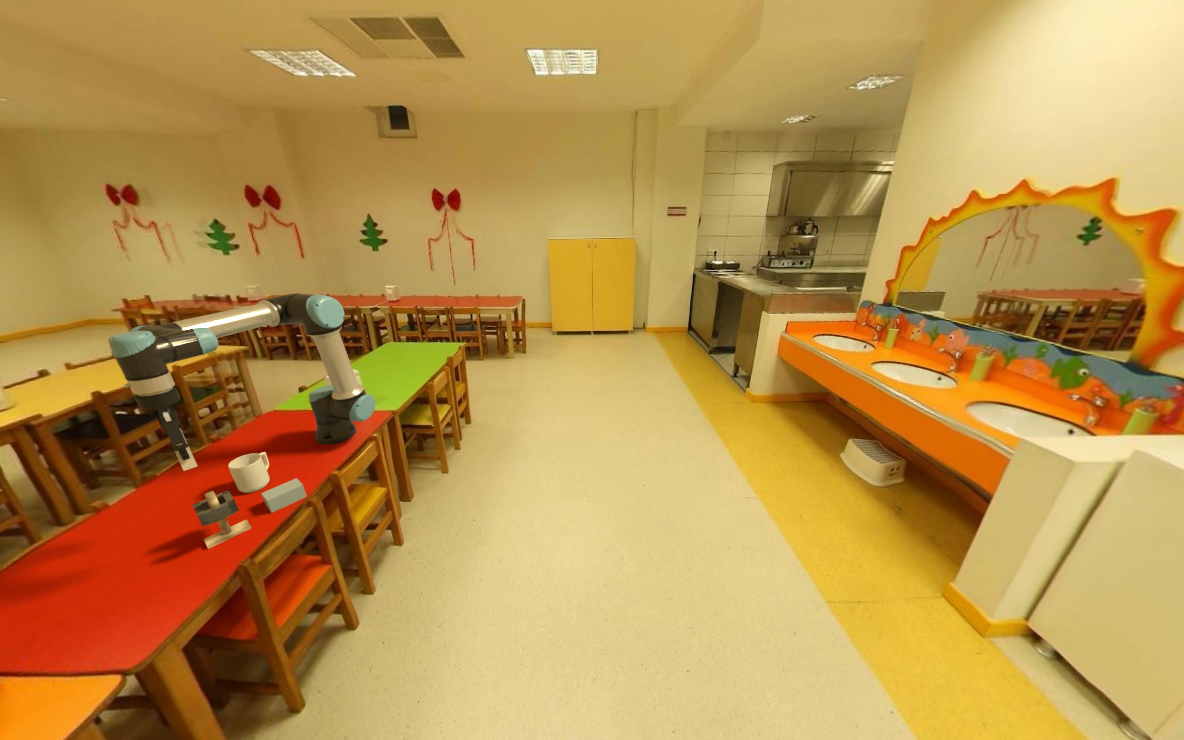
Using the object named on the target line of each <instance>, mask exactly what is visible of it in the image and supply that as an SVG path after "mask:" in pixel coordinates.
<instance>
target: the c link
mask: <svg viewBox="0 0 1184 740" xmlns="http://www.w3.org/2000/svg"><path fill="white" fill-rule="evenodd" d="M215 495H216V497H217V499H218V502H219V504H220V505H218V506H216V507H213V508H210V506H209V504H208V501H207V499H206V498H205V499H203V500H202V499H201V501H198V502H196V503H193V504H192V508H193V510H194V512H195V514H196V516H197V518H198V520H199V522H200V524H201V525H202V527H205V526H207V524H210V523H212V522H214V521H216V520H219V519H221V518H223V517H225V516H228V515H230V514H232V513H234V512H235V513H237V512H239V511H240V509H239V507H238V505H237V503H236V500H235V499H234V497H233V495H232V494H231V492H230V491H229V490H225V491H222V492H220V493H218V494H215Z"/></svg>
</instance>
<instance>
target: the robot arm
mask: <svg viewBox="0 0 1184 740" xmlns="http://www.w3.org/2000/svg"><path fill="white" fill-rule="evenodd" d="M256 303H257V304H253V305H248V306H244V307H243V306H242V307H238V308H233V309H228V310H225V311H219V312H215V313H211V314H206V315H204V314H203V315H201V316H196V317H191V318H186V319H182V320H176V321H173V322H168V323H162V324H158V325H147V324H146V325H138V326H135V327H133V328H131V329H130V330H129V331H127V332H122V333H121V332H120V333H117V334H113V335H111V336H110V337H109V338H108V344H109V348H110V350H111V353H112V357H114V359H115V360H116V363H117V364H118V367H119V369H120V370H121V372H122V374H123V376H124V379H125V380H126V382H127V383H125V384H124V387H125V388H129V387H130V391H131V392H132V394H133V395H134V399H135V402H136V404H137V406H138V408H140V409H141V410H147V411H149V410H153V411H152V413H153V416H154V418H155V419H156V421H158V423H159V426H160V427H161V429H163V430H165V432H166V435H167V436H168V438H169V442H170V443H171V445H172V447H173V448H169V451H170V453H173V452H174V453H175V455H176V458H177V459H178V462H179V464H180V465H181V469H182V470H183V471H184V472H185V471H187V470H191V469H194V468H196V467H198V463H197V462H196V459H195V457H194V455H193V453H192V451H191V448H190V447H189V444H188V442H187V439H186V437H185V435H184V433H183V431H182V429H181V428H183V427H184V426H183V424H182V423H181V422H180V420H179V417H178V412H177V409H176V408H175V406H174V404H176V403H178V402H179V401H180V400H181V396H180V393H179V391H178V389H177V387H176V386H175V385H176V384H175V381H174V379H173V376H172V373H171V372H170V370H169V368H168V365H169V364H172V363H176V362H180V361H184V360H187V359H191V358H196V357H199V356H205V355H206V354H209V353H212V352H216V351H217V349H218V347H219V340H218V339H219V338H223V337H226V336H231V335H234V334H238V333H243V332H246V331H250V330H253V329H257V328H261V327H265V326H269V327H277V326H281V325H297V326H298V325H299V326H302V327H303V330H304V332H305V335H307V336H308V337H311V338H312V339H313V341H314V344H315V346H316V349H317V351H318V353H319V355H320V358H321V361H322V363H323V366H324V369H325V371H326V373H327V376H328V378H329V381H330V384H328V385H325V386H321V387H317V388H315V389H314V390H312V391H310V393H309V394H308V400H309V402H308V403H309V404H310V407H311V410H312V414H313V417H314V420H315V423H316V425H315V426H316V428H315V436H314V437H315V441H316V442H317V443H318V444H319V445H322V446H323V445H334V444H339V442H340V443H342V441H343V442H345V441H347V440H349V439H351V438H352V437H354V436H355V435H354V434H356V433H357V428H356V425H355V424H354V422H358V423H359V422H360V423H361V422H364V421H367V420H368V419H370V418H371V417H372V415H373V413H374V411H375V409H376V400H375V397H374V396H372V395H371V394H367V392H366V390H365V387H364V386H363V384H359V383H358V379H357V377H356V375H355V372H354V369H353V367H352V364H351V362H350V359H349V356H348V353H347V350H346V347H345V345H344V342H343V339H342V337H341V333H340V331H341V330H342V328H343V326H342V324H343V323H344V320H345V319H344V318H345V311H344V308H343V305H342V304H341V303H340V302H339V300H337V299H335V298H333V297H331V296H329V295H323V294H311V293H310V294H309V293H298V292H297V293H288V294H283V295H279V296H274V297H270V298H265V299H260V300H259V301H258V302H256ZM172 405H173V406H172ZM353 435H354V436H353ZM350 437H351V438H350ZM344 440H345V441H344Z"/></svg>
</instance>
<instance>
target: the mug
mask: <svg viewBox="0 0 1184 740" xmlns="http://www.w3.org/2000/svg"><path fill="white" fill-rule="evenodd" d="M269 466H270V462H269V458H268V455H267V452H266V451H264V452H260V453H257V452H256V453H248V454H245V455H244V454H243V455H241V456H238V457H236V458H234V459H233V460H231V461H230V462H229V463H228V469H229V472H230V474H231V476H232V479H233V481H234V483H235V485H236V487H237V488H236V489H237V490H238V491H239V492H241V493H245V494H247V493H253V492H254V493H255V492H257V491H260V490H262V489H264V488H265V487H266V486H267V485H268V484H269V482H270V481H271V480H270V479H271V478H270V475H269V472H268V469H269Z"/></svg>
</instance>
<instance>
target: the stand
mask: <svg viewBox="0 0 1184 740" xmlns="http://www.w3.org/2000/svg"><path fill="white" fill-rule="evenodd" d="M216 495H217V494H216V493H215V492H214V490H211V491H207V492H206V493H205V494H204V496H205V499H207V501H208V504H209V506H210V508H213V507H216V506H218V505H220V504H219V502H218V499H217V497H216ZM233 515H236V512H234V513H232V514H230V515H228V516H225V517H223V518H221V519H219V520H216V521H214V522H212V523H210V524H207V525H206V526H210V525H213V524H215V523H217V524H218V526H219V529H220V531H218V532H216V533H214V534H212V535H210V536H208V537H206V538H204V539H203V541H204V543H205V545H206V548H207V549H208V550H209V549H210V548H213V547H215V546H217V545H219V544H222V543H224V542H225V541H228V540H230V539H232V538H234V537H236V536H238V535H241V534H243V533H244V532H247V531H249V530H251V529H252V526H251V524H250V523H249V521H248V519H245V520H242V521H240V522H237V523H236V524H234V525H232V526H230V523H229V521H228V519H227V518H228V517H230V516H233Z"/></svg>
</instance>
